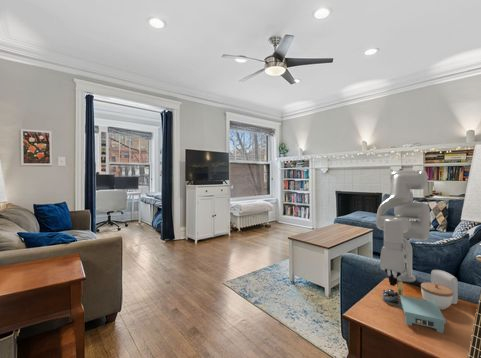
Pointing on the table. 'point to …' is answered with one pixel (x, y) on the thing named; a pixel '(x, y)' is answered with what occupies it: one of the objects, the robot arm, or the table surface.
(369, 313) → the table surface
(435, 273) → the photo printer
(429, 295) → the lidded jar
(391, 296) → the cross handle valve
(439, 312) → the spoked knob panel
